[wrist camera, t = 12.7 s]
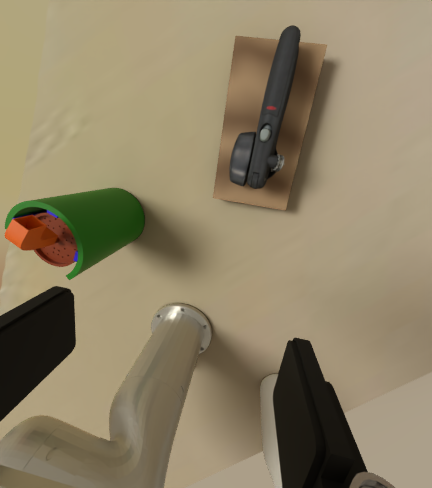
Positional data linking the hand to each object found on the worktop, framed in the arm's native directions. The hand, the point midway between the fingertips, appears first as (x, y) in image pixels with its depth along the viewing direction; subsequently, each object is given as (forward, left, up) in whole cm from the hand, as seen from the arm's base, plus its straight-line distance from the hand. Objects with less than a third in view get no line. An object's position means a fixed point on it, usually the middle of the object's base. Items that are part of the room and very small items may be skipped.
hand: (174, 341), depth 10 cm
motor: (-4, +20, -30) cm, 37 cm away
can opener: (+13, -3, -27) cm, 31 cm away
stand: (+12, -2, -30) cm, 33 cm away
